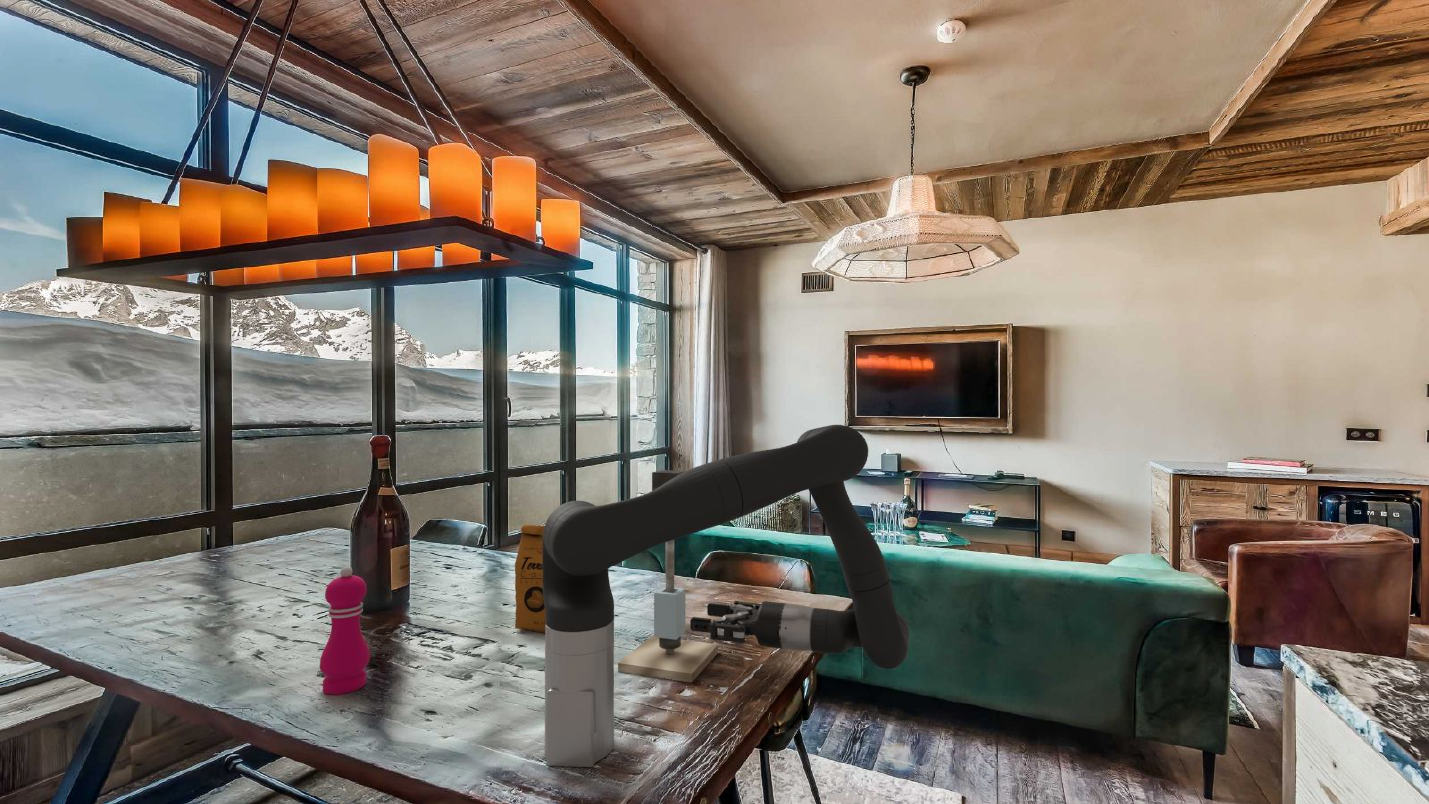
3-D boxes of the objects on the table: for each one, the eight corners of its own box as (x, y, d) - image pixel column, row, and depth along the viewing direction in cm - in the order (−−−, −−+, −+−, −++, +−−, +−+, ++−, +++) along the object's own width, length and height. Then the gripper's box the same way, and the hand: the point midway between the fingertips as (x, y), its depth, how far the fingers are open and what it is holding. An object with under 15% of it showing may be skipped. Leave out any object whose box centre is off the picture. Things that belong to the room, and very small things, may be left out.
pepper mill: (359, 673, 107) (361, 559, 107) (376, 685, 102) (378, 566, 103) (312, 688, 101) (314, 567, 102) (328, 700, 97) (330, 574, 97)
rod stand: (718, 652, 116) (717, 469, 117) (691, 682, 103) (691, 476, 104) (651, 643, 121) (651, 467, 122) (618, 671, 107) (618, 473, 108)
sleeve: (685, 631, 113) (685, 588, 113) (676, 639, 109) (676, 595, 109) (663, 629, 115) (663, 586, 115) (654, 636, 111) (654, 592, 111)
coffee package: (559, 639, 123) (560, 530, 124) (507, 633, 127) (508, 527, 127) (584, 623, 133) (584, 522, 133) (535, 618, 136) (535, 520, 137)
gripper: (795, 593, 111) (712, 585, 117) (777, 617, 98) (684, 606, 103) (795, 634, 111) (712, 624, 117) (777, 664, 98) (684, 651, 103)
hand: (699, 616), depth 110 cm, fingers open, 8 cm apart
